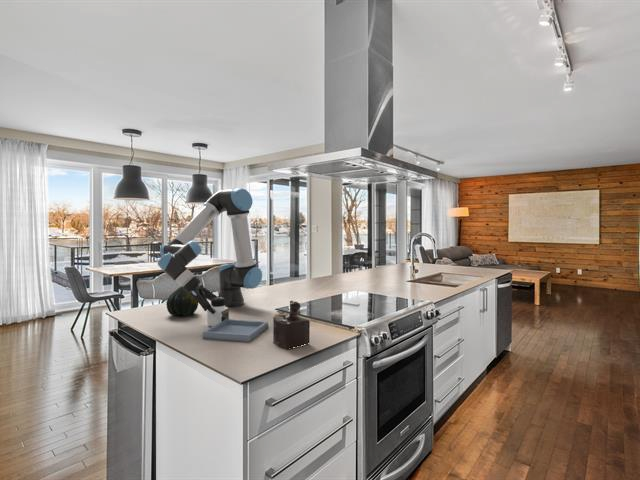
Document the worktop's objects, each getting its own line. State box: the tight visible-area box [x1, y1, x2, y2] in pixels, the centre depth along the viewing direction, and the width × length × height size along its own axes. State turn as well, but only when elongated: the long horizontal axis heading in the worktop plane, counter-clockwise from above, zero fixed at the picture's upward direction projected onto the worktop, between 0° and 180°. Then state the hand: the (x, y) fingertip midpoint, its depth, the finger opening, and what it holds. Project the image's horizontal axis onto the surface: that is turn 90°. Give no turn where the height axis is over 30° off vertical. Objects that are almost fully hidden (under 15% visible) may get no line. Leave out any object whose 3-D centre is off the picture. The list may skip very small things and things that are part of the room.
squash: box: [165, 286, 199, 318], centre depth 183 cm, size 14×15×15 cm
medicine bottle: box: [206, 298, 230, 327], centre depth 165 cm, size 7×7×12 cm
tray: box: [202, 318, 269, 343], centre depth 152 cm, size 20×20×3 cm
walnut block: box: [272, 313, 288, 320], centre depth 162 cm, size 6×6×5 cm
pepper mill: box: [272, 300, 311, 350], centre depth 136 cm, size 16×11×18 cm
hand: (223, 314), depth 165 cm, fingers open, 13 cm apart
